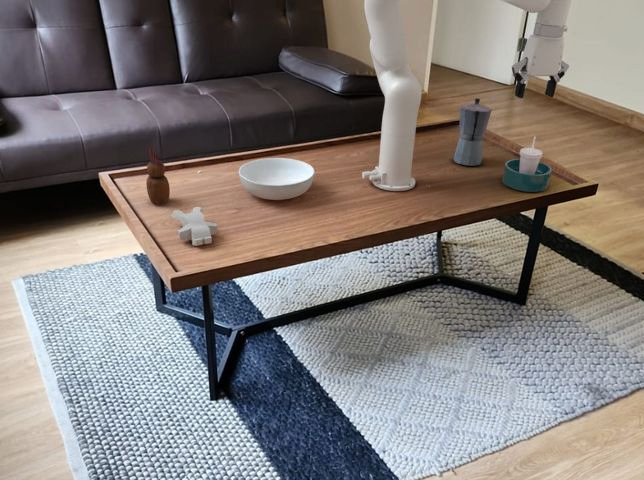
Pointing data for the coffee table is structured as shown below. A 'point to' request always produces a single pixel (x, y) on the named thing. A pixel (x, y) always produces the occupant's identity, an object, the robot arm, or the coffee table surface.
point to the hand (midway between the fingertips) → (533, 96)
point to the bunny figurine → (195, 227)
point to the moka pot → (471, 133)
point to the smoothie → (529, 159)
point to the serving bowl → (276, 178)
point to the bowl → (526, 177)
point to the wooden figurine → (157, 181)
